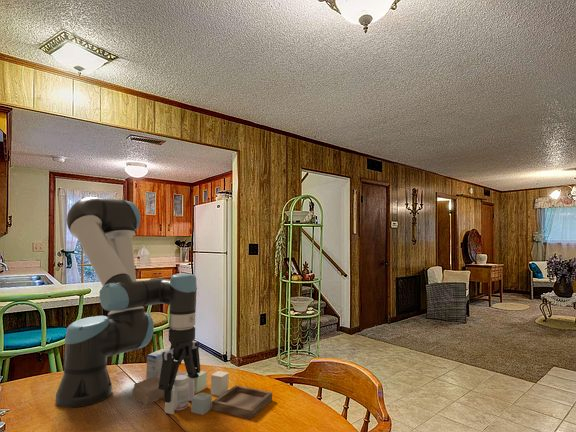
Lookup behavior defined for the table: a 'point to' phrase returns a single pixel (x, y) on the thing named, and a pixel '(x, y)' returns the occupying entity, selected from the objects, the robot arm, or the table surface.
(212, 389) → the cream block
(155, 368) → the medicine box
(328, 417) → the table surface
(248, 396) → the tray
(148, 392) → the brick
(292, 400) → the table surface
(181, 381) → the pill bottle
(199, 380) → the sage block
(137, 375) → the table surface
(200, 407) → the blue-grey block
